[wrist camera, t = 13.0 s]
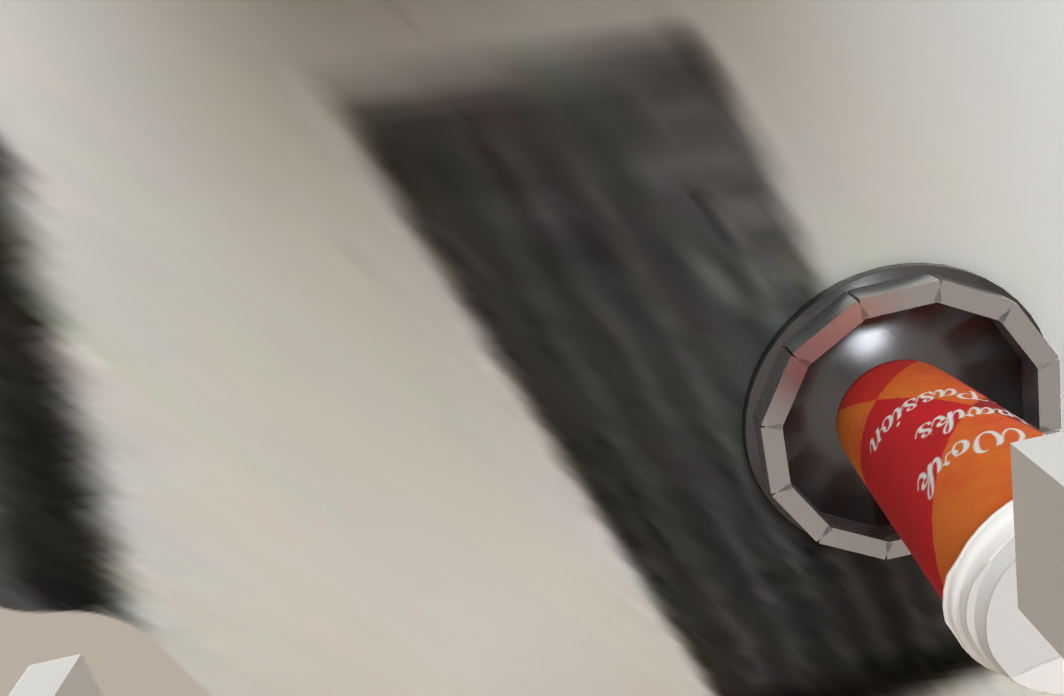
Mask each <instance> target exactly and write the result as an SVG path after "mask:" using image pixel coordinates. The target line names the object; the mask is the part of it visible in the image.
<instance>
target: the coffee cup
mask: <svg viewBox="0 0 1064 696" xmlns="http://www.w3.org/2000/svg"><path fill="white" fill-rule="evenodd" d="M836 428H837V434H838V438H839V441H840V443H841V445H842V447H843V449H844V451H845V453H846V455H847V457H848V458H849V460H850V461H851V463H852V465H853V466H854V468H855V469H856V471H857V473H858V474H859V476H860V477H861V479H862V480H863V482H864V483H865V485H866V486H867V488H868V489H869V491H870V493H871V494H872V496H873V497H874V499H875V500H876V502H877V503H878V505H879V506H880V508H881V509H882V511H883V512H884V514H885V515H886V517H887V518H888V520H889V521H890V523H891V524H892V526H893V527H894V529H895V530H896V532H897V533H898V535H899V536H900V538H901V539H902V541H903V542H904V544H905V545H906V547H907V548H908V550H909V551H910V553H911V554H912V556H913V557H914V559H915V560H916V562H917V563H918V565H919V566H920V568H921V569H922V571H923V572H924V574H925V575H926V577H927V578H928V580H929V581H930V583H931V584H932V586H933V587H934V589H935V590H936V592H937V593H938V595H939V596H940V598H941V599H942V601H943V606H942V607H943V613H944V619H945V622H946V624H947V625H948V627H949V628H950V629H951V631H952V632H953V634H954V635H955V637H956V638H957V640H958V641H959V643H960V645H961V646H962V648H963V649H964V650H965V651H966V652H967V653H968V654H969V655H970V656H971V657H972V658H973V659H974V660H976V661H977V662H979V663H980V664H982V665H983V666H984V667H986V668H988V669H990V670H993V671H995V672H997V673H999V674H1002V675H1004V676H1006V677H1007V678H1009V679H1010V680H1011V681H1013V682H1015V683H1017V684H1020V685H1022V686H1024V687H1026V688H1029V689H1033V690H1036V691H1040V692H1043V693H1051V694H1064V659H1063V658H1062V657H1061V656H1060V655H1059V654H1058V652H1057V651H1056V650H1055V649H1054V648H1053V647H1052V646H1051V645H1050V644H1049V642H1048V641H1047V640H1046V639H1045V638H1044V637H1043V636H1042V635H1041V634H1040V632H1039V631H1038V630H1037V629H1036V628H1035V627H1034V626H1033V625H1032V623H1031V622H1030V621H1029V620H1028V619H1027V618H1026V617H1025V616H1024V615H1023V613H1022V612H1021V611H1020V610H1019V609H1018V598H1017V577H1016V555H1015V534H1014V513H1013V491H1012V470H1011V448H1010V443H1013V442H1017V441H1021V440H1026V439H1030V438H1035V437H1039V436H1044V435H1045V434H1044V433H1042V432H1041V431H1039V430H1038V429H1036V428H1034V427H1033V426H1031V425H1030V424H1028V423H1027V422H1025V421H1023V420H1022V419H1020V418H1019V417H1017V416H1015V415H1014V414H1012V413H1011V412H1009V411H1007V410H1006V409H1004V408H1003V407H1001V406H1000V405H998V404H996V403H995V402H993V401H992V400H990V399H988V398H987V397H985V396H984V395H982V394H980V393H979V392H977V391H975V390H974V389H972V388H971V387H969V386H967V385H966V384H964V383H963V382H961V381H959V380H958V379H956V378H954V377H952V376H951V375H949V374H947V373H946V372H944V371H942V370H940V369H938V368H936V367H934V366H932V365H930V364H928V363H925V362H921V361H917V360H907V359H905V360H895V361H890V362H886V363H883V364H880V365H878V366H876V367H874V368H872V369H870V370H868V371H867V372H865V373H864V374H863V375H861V376H860V377H859V378H858V379H857V380H856V381H855V382H854V383H853V384H852V385H851V386H850V387H849V389H848V390H847V392H846V393H845V395H844V397H843V398H842V401H841V403H840V405H839V408H838V412H837V419H836Z"/></svg>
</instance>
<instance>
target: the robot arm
mask: <svg viewBox="0 0 1064 696" xmlns="http://www.w3.org/2000/svg"><path fill="white" fill-rule="evenodd" d="M1010 448H1011V470H1012V491H1013V513H1014V534H1015V555H1016V577H1017V598H1018V609H1019V610H1020V611H1021V612H1022V613H1023V615H1024V616H1025V617H1026V618H1027V619H1028V620H1029V621H1030V622H1031V623H1032V625H1033V626H1034V627H1035V628H1036V629H1037V630H1038V631H1039V632H1040V634H1041V635H1042V636H1043V637H1044V638H1045V639H1046V640H1047V641H1048V642H1049V644H1050V645H1051V646H1052V647H1053V648H1054V649H1055V650H1056V651H1057V652H1058V654H1059V655H1060V656H1061V657H1062V658H1063V659H1064V431H1061V432H1057V433H1052V434H1048V435H1044V436H1039V437H1035V438H1030V439H1026V440H1021V441H1017V442H1013V443H1010ZM8 696H103V695H102V693H101V691H100V689H99V687H98V685H97V683H96V681H95V679H94V677H93V675H92V673H91V671H90V670H89V668H88V666H87V664H86V662H85V660H84V658H83V656H82V654H77V655H72V656H68V657H64V658H59V659H55V660H50V661H46V662H42V663H38V664H33V665H29V667H28V668H27V669H26V671H25V672H24V674H23V675H22V676H21V678H20V679H19V681H18V682H17V684H16V685H15V686H14V688H13V689H12V690H11V692H10V693H9V695H8Z"/></svg>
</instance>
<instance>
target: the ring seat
mask: <svg viewBox="0 0 1064 696" xmlns="http://www.w3.org/2000/svg"><path fill="white" fill-rule="evenodd" d="M1057 358H1058V356H1057V355H1056V353H1055V352H1054V351H1053V350H1052V348H1051V347H1050V346H1049V344H1048V343H1047V342H1046V340H1045V339H1044V338H1043V336H1042V334H1041V331H1040V329H1039V328H1038V326H1037V324H1036V323H1035V321H1034V320H1033V318H1032V317H1031V315H1030V314H1029V313H1028V311H1027V310H1026V309H1025V308H1024V307H1023V306H1022V305H1021V304H1020V303H1019V302H1018V300H1016V299H1015V298H1014V297H1013V296H1011V295H1010V294H1009V293H1008V292H1006V291H1005V290H1004V289H1002V288H1001V287H999V286H997V285H995V284H994V283H992V282H990V281H988V280H987V279H985V278H983V277H981V276H979V275H976V274H974V273H971V272H968V271H966V270H963V269H960V268H955V267H951V266H946V265H942V264H930V263H906V264H897V265H891V266H885V267H879V268H876V269H873V270H869V271H866V272H863V273H859V274H857V275H855V276H852V277H850V278H848V279H846V280H843V281H841V282H839V283H837V284H835V285H834V286H832V287H830V288H828V289H827V290H825V291H823V292H821V293H820V294H819V295H817V296H816V297H814V298H813V299H812V300H810V301H809V302H808V303H806V304H805V305H804V306H802V307H801V308H800V309H799V310H798V311H797V312H796V313H795V314H794V315H793V316H792V317H791V318H790V319H789V320H788V321H787V322H786V323H785V324H784V325H783V326H782V328H781V329H780V330H779V331H778V332H777V334H776V335H775V336H774V337H773V339H772V340H771V342H770V343H769V345H768V346H767V348H766V349H765V351H764V353H763V354H762V356H761V358H760V360H759V362H758V364H757V366H756V368H755V370H754V372H753V375H752V378H751V381H750V384H749V387H748V390H747V395H746V400H745V405H744V413H743V436H744V446H745V450H746V454H747V458H748V462H749V464H750V467H751V469H752V472H753V474H754V477H755V479H756V480H757V482H758V484H759V485H760V487H761V489H762V490H763V492H764V494H765V495H766V497H767V498H768V500H769V501H770V502H771V503H772V504H773V506H774V507H775V508H776V509H777V510H778V511H779V512H780V513H781V514H782V515H783V516H784V517H785V518H787V519H788V520H789V521H790V522H791V523H793V524H794V525H796V526H797V527H799V528H800V529H802V530H803V531H805V532H807V533H808V534H809V535H810V536H811V537H812V538H813V539H814V540H815V541H816V542H817V541H818V543H820V544H824V545H828V546H832V547H836V548H840V549H844V550H848V551H852V552H856V553H860V554H864V555H868V556H872V557H876V558H880V559H884V560H885V558H887V560H888V559H892V558H897V557H901V556H906V555H910V554H911V553H910V551H909V550H908V548H907V547H906V545H905V544H904V542H903V541H902V539H901V538H900V536H899V535H898V533H897V532H896V530H895V529H894V527H893V526H892V524H891V523H890V521H889V520H888V518H887V517H886V515H885V514H884V512H883V511H882V509H881V508H880V506H879V505H878V503H877V502H876V500H875V499H874V497H873V496H872V494H871V493H870V491H869V489H868V488H867V486H866V485H865V483H864V482H863V480H862V479H861V477H860V476H859V474H858V473H857V471H856V469H855V468H854V466H853V465H852V463H851V461H850V460H849V458H848V457H847V455H846V453H845V451H844V449H843V447H842V445H841V443H840V441H839V438H838V434H837V428H836V419H837V412H838V408H839V405H840V403H841V401H842V398H843V397H844V395H845V393H846V392H847V390H848V389H849V387H850V386H851V385H852V384H853V383H854V382H855V381H856V380H857V379H858V378H859V377H860V376H861V375H863V374H864V373H865V372H867V371H868V370H870V369H872V368H874V367H876V366H878V365H880V364H883V363H886V362H890V361H895V360H905V359H907V360H917V361H921V362H925V363H928V364H930V365H932V366H934V367H936V368H938V369H940V370H942V371H944V372H946V373H947V374H949V375H951V376H952V377H954V378H956V379H958V380H959V381H961V382H963V383H964V384H966V385H967V386H969V387H971V388H972V389H974V390H975V391H977V392H979V393H980V394H982V395H984V396H985V397H987V398H988V399H990V400H992V401H993V402H995V403H996V404H998V405H1000V406H1001V407H1003V408H1004V409H1006V410H1007V411H1009V412H1011V413H1012V414H1014V415H1015V416H1017V417H1019V418H1020V419H1022V420H1023V421H1025V422H1027V423H1028V424H1030V425H1031V426H1033V427H1034V428H1036V429H1038V430H1039V431H1041V432H1042V433H1044V434H1045V435H1048V434H1052V433H1057V432H1060V431H1059V430H1058V429H1061V412H1060V369H1059V359H1057Z"/></svg>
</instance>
